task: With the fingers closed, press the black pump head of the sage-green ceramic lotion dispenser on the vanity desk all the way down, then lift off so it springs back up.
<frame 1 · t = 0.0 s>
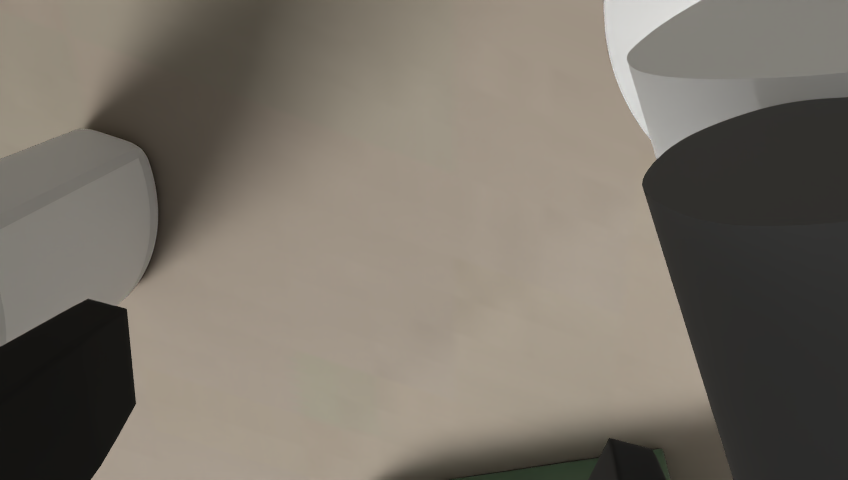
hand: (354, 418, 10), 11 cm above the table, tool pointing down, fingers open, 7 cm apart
eye dropper bottle: (114, 210, 22), on the table
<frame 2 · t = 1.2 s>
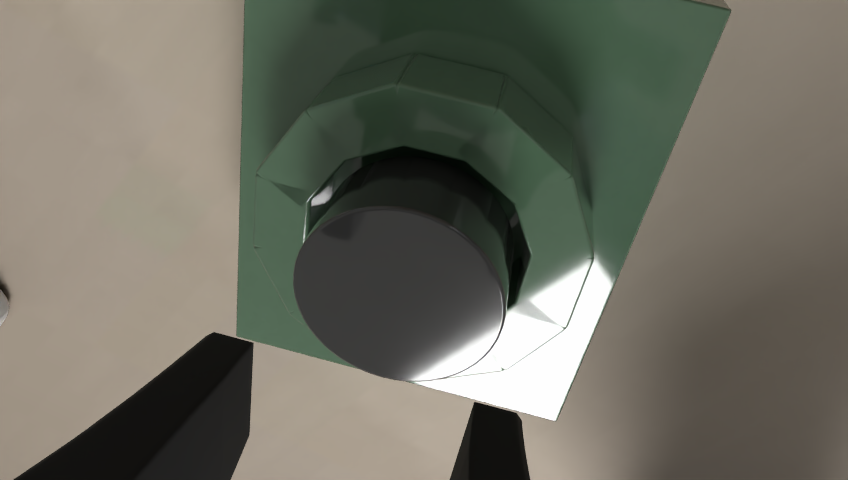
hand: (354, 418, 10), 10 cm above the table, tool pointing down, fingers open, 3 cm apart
dispenser: (451, 149, 18), on the table
pump: (407, 270, 13), point 6 cm above the table, slide at 0.1 cm
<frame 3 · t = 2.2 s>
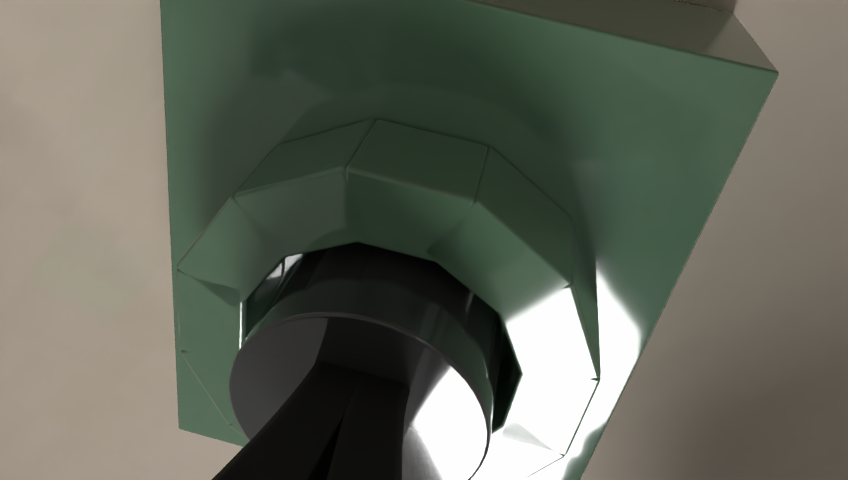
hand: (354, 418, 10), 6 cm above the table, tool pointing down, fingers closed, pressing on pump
dispenser: (430, 212, 15), on the table
pump: (372, 373, 11), point 5 cm above the table, slide at -0.3 cm, touching gripper
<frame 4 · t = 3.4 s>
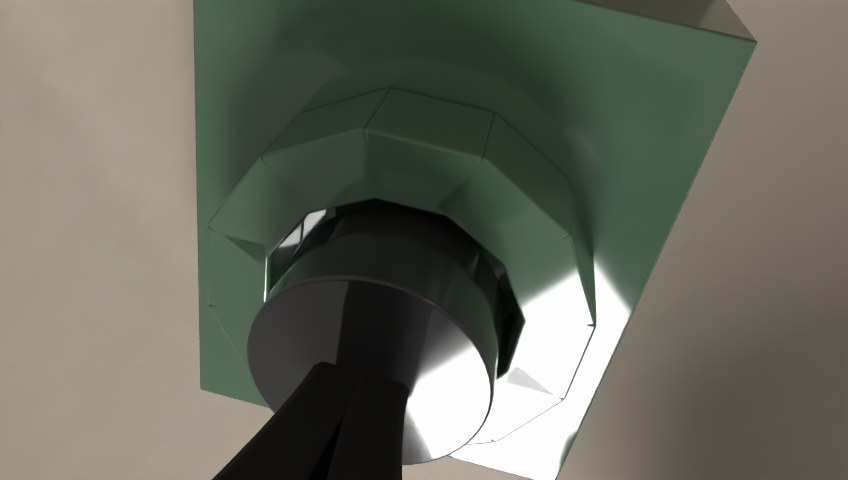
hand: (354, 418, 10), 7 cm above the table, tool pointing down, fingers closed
dispenser: (437, 184, 16), on the table
pump: (381, 338, 11), point 6 cm above the table, slide at 0.1 cm
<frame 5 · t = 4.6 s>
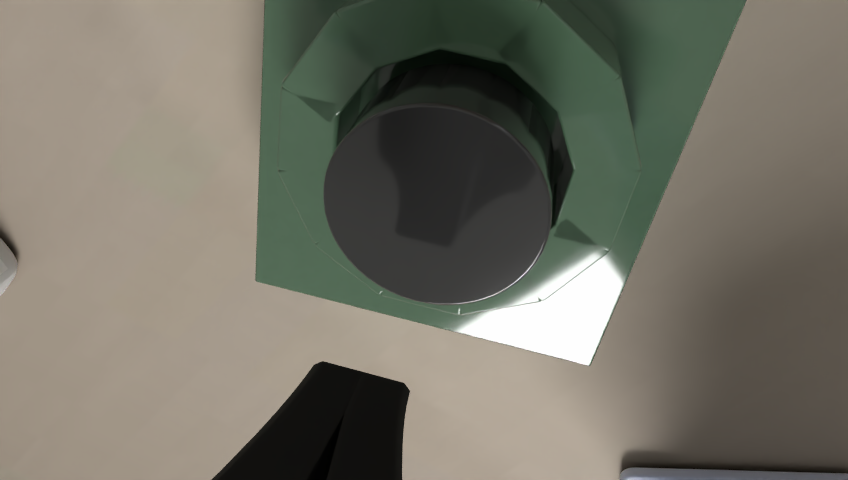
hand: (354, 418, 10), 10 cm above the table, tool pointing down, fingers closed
dispenser: (478, 82, 17), on the table
pump: (443, 186, 12), point 6 cm above the table, slide at 0.1 cm
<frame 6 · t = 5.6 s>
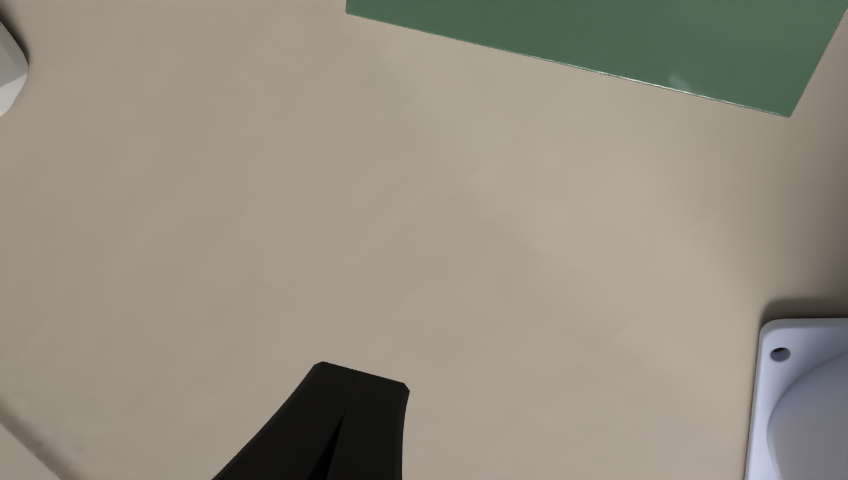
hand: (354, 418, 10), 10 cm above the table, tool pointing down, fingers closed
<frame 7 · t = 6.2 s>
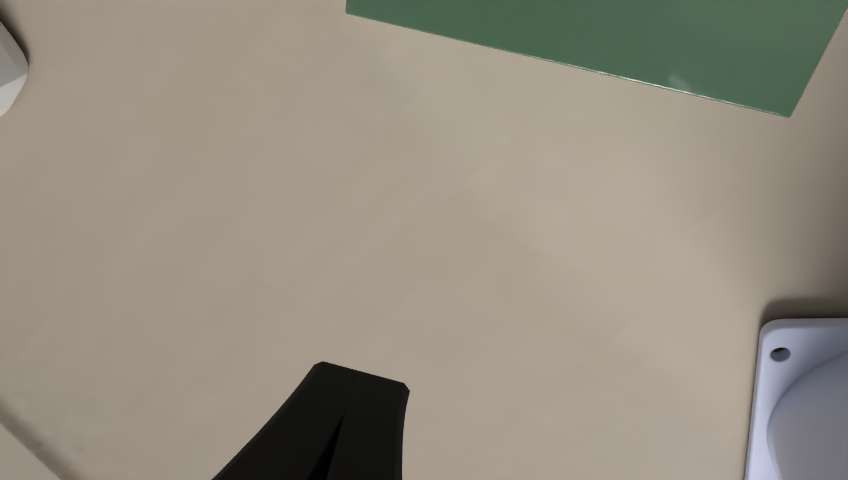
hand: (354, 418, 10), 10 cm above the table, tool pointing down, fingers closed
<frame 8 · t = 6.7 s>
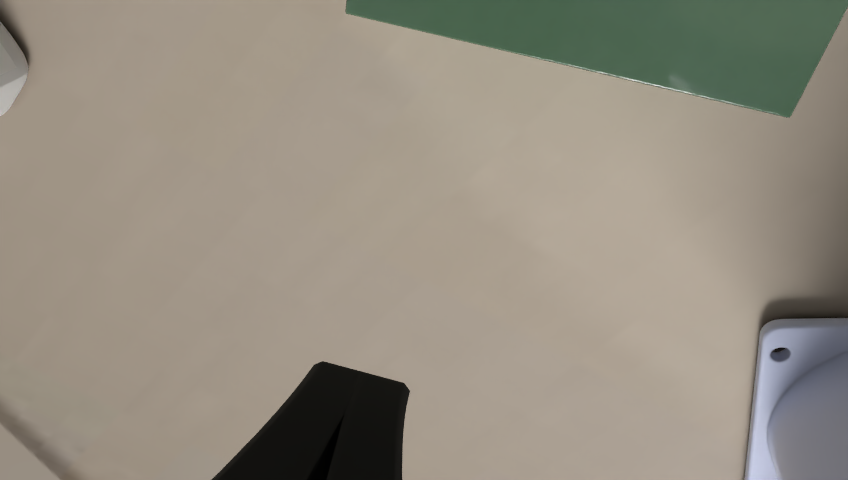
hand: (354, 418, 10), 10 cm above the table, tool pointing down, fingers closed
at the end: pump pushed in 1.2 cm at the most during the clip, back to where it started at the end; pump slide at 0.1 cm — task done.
